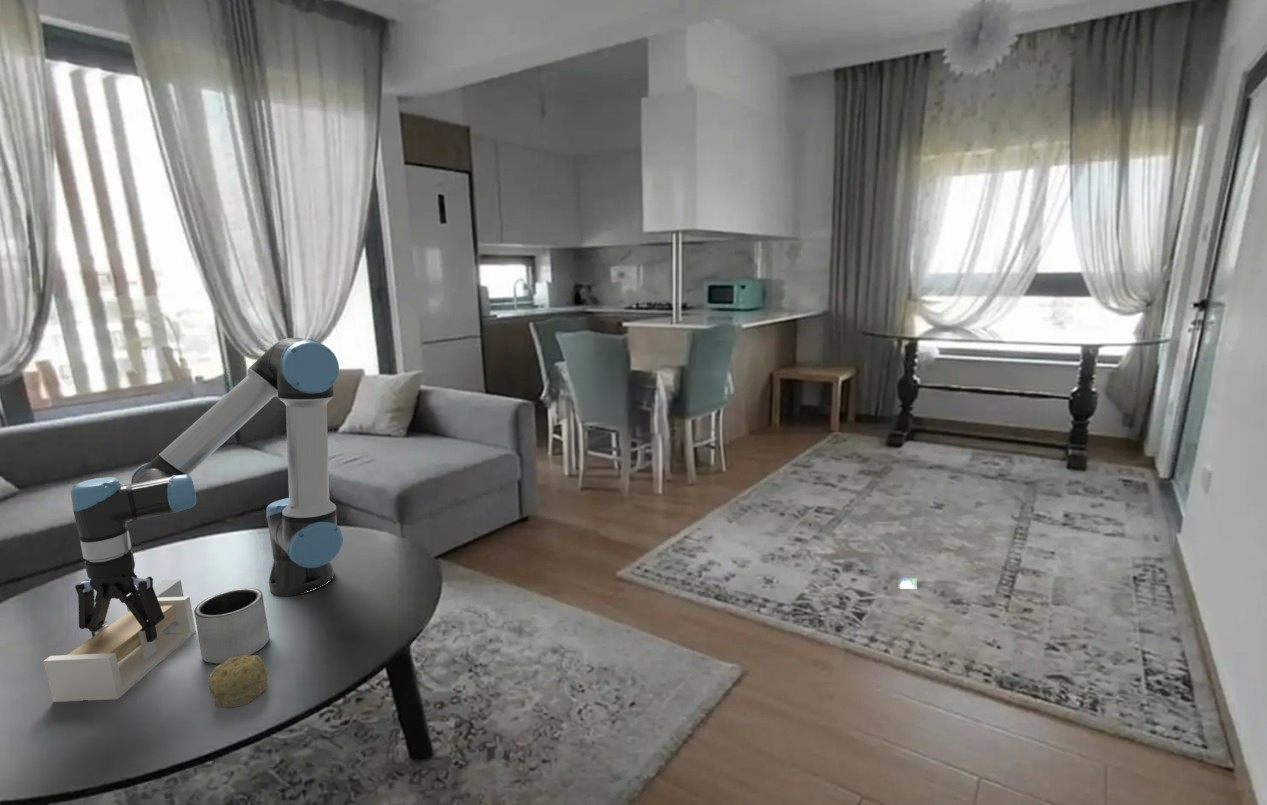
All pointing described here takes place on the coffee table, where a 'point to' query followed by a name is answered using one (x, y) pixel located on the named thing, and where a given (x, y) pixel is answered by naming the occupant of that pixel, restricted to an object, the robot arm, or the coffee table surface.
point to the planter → (231, 624)
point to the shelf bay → (102, 671)
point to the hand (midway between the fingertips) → (129, 655)
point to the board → (121, 636)
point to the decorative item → (238, 681)
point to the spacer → (168, 589)
